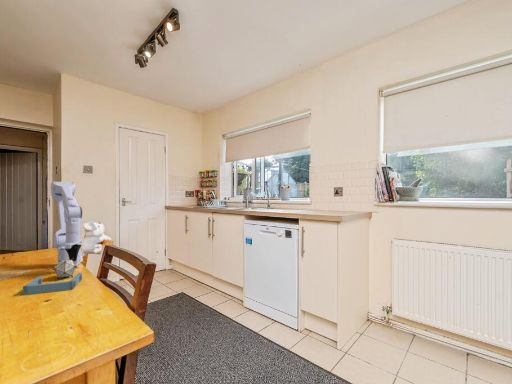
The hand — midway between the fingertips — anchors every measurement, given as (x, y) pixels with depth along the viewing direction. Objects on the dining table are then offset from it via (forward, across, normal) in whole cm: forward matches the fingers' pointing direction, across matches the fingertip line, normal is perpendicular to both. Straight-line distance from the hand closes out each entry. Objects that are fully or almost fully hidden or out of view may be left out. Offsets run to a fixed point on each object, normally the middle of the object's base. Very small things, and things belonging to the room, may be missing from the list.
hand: (73, 261), depth 118 cm
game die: (+5, -9, 0) cm, 11 cm away
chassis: (+5, -20, 0) cm, 21 cm away
